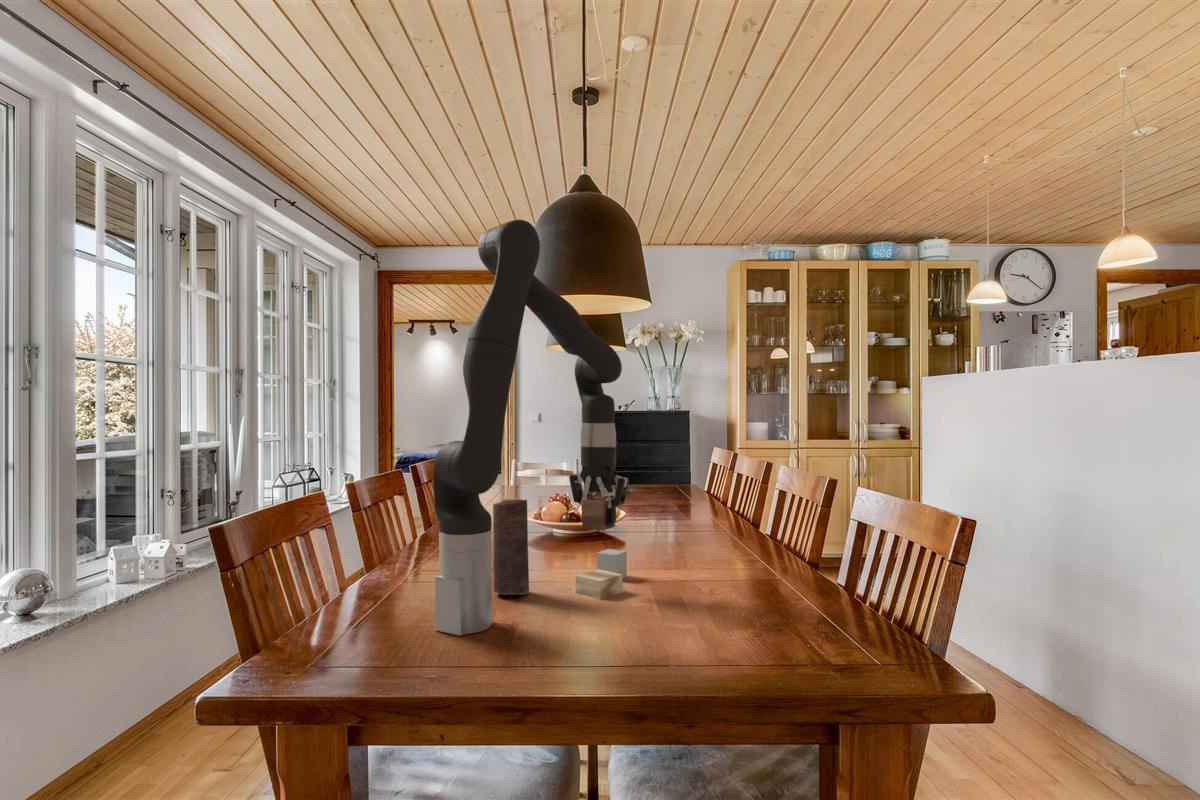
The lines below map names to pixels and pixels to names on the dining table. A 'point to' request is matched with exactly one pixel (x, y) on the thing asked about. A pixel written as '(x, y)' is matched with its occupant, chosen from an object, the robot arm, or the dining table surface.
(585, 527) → the walnut block
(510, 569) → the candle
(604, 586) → the maple base
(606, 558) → the grey block
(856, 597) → the dining table surface
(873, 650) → the dining table surface
